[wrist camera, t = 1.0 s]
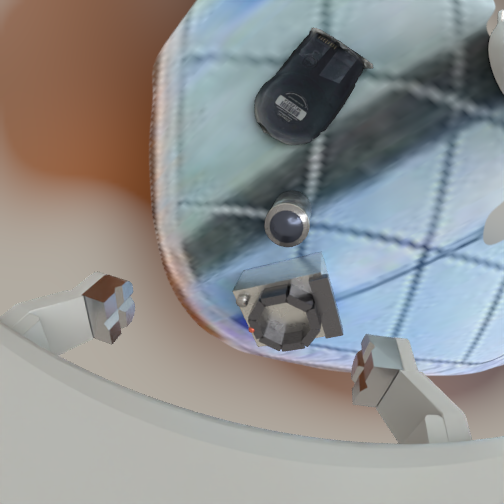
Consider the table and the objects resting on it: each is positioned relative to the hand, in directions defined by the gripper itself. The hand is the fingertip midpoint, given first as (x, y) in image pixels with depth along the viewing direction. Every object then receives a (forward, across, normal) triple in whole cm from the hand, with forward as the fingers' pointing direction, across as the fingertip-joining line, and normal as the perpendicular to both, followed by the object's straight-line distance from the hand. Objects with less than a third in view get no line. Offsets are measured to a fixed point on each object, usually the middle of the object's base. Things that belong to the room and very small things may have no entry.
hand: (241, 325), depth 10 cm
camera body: (+32, -2, +18) cm, 36 cm away
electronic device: (+32, 0, -11) cm, 34 cm away
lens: (+32, 0, +5) cm, 32 cm away
